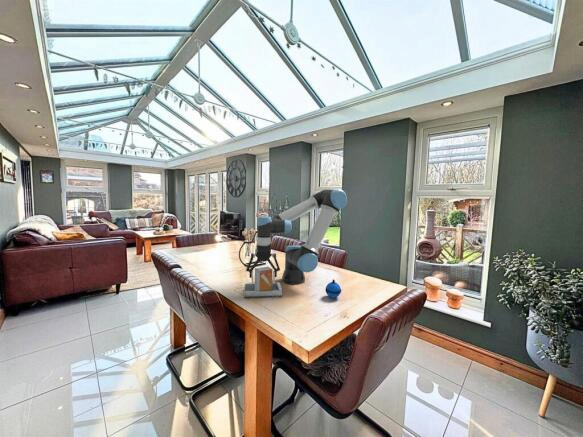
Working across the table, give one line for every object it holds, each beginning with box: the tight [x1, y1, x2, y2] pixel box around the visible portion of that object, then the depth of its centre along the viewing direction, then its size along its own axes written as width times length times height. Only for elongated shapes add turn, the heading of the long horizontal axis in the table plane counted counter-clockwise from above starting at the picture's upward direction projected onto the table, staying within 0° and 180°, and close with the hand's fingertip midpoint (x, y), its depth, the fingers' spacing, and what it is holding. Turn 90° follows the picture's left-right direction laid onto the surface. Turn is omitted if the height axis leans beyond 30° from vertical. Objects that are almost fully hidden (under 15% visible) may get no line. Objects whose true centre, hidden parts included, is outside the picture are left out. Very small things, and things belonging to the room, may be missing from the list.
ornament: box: [325, 279, 342, 299], centre depth 136 cm, size 9×9×10 cm
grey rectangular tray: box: [243, 281, 283, 299], centre depth 139 cm, size 20×13×4 cm, turn 99°
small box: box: [254, 266, 274, 291], centre depth 138 cm, size 8×6×13 cm
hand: (263, 283), depth 138 cm, fingers open, 11 cm apart
